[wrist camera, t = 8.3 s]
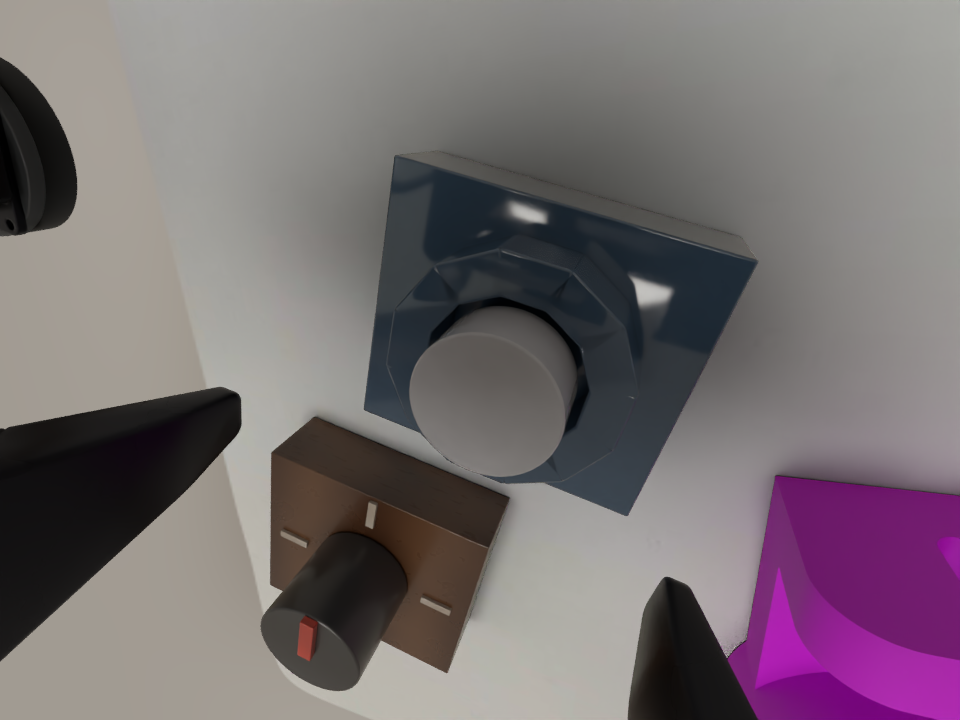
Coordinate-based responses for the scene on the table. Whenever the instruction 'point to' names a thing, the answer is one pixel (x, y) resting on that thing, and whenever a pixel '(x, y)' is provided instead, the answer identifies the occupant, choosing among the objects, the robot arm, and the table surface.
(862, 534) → the magenta ring bracket
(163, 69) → the table surface
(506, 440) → the push button
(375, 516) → the panel
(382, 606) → the lock knob
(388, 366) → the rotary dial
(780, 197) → the table surface
